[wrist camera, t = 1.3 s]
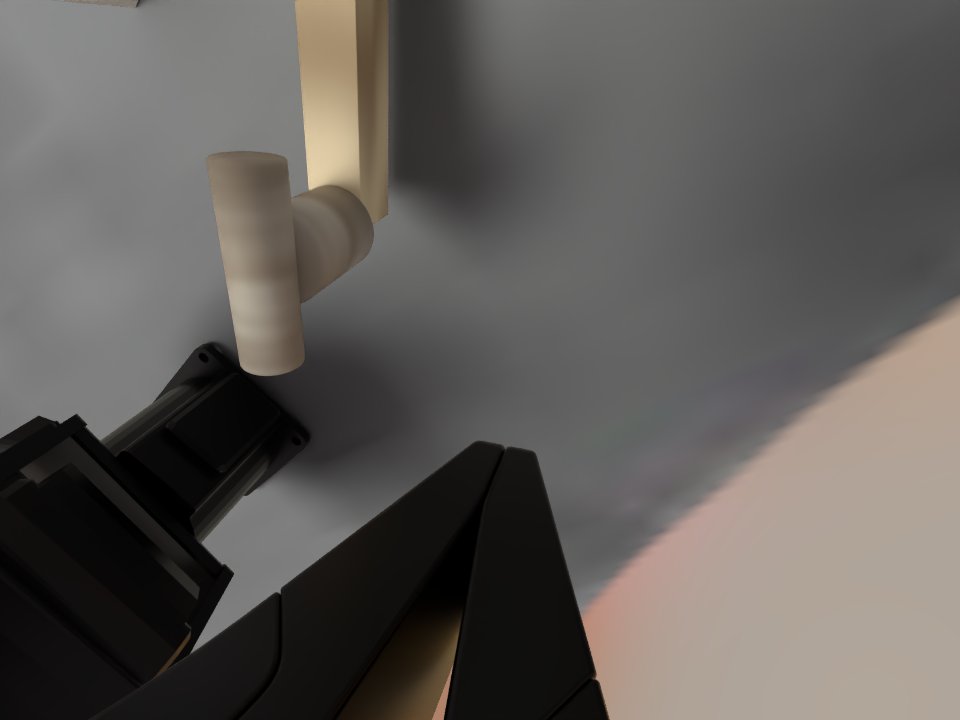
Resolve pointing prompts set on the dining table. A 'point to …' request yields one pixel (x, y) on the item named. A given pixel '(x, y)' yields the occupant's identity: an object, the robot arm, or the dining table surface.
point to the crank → (332, 185)
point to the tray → (107, 2)
